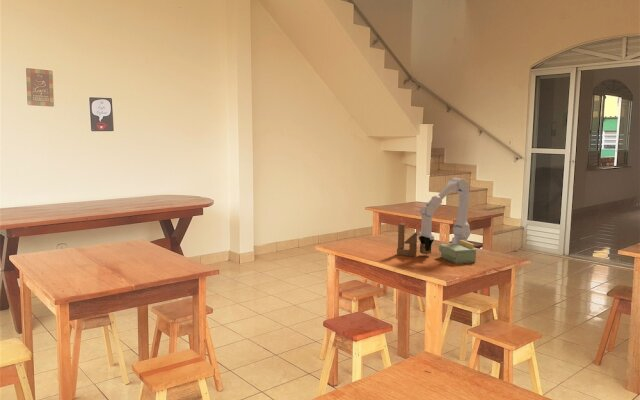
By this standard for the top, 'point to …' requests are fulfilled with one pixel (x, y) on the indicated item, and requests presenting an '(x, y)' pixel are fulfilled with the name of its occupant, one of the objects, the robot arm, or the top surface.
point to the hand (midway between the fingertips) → (425, 249)
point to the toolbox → (461, 257)
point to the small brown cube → (423, 250)
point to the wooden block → (406, 242)
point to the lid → (456, 248)
